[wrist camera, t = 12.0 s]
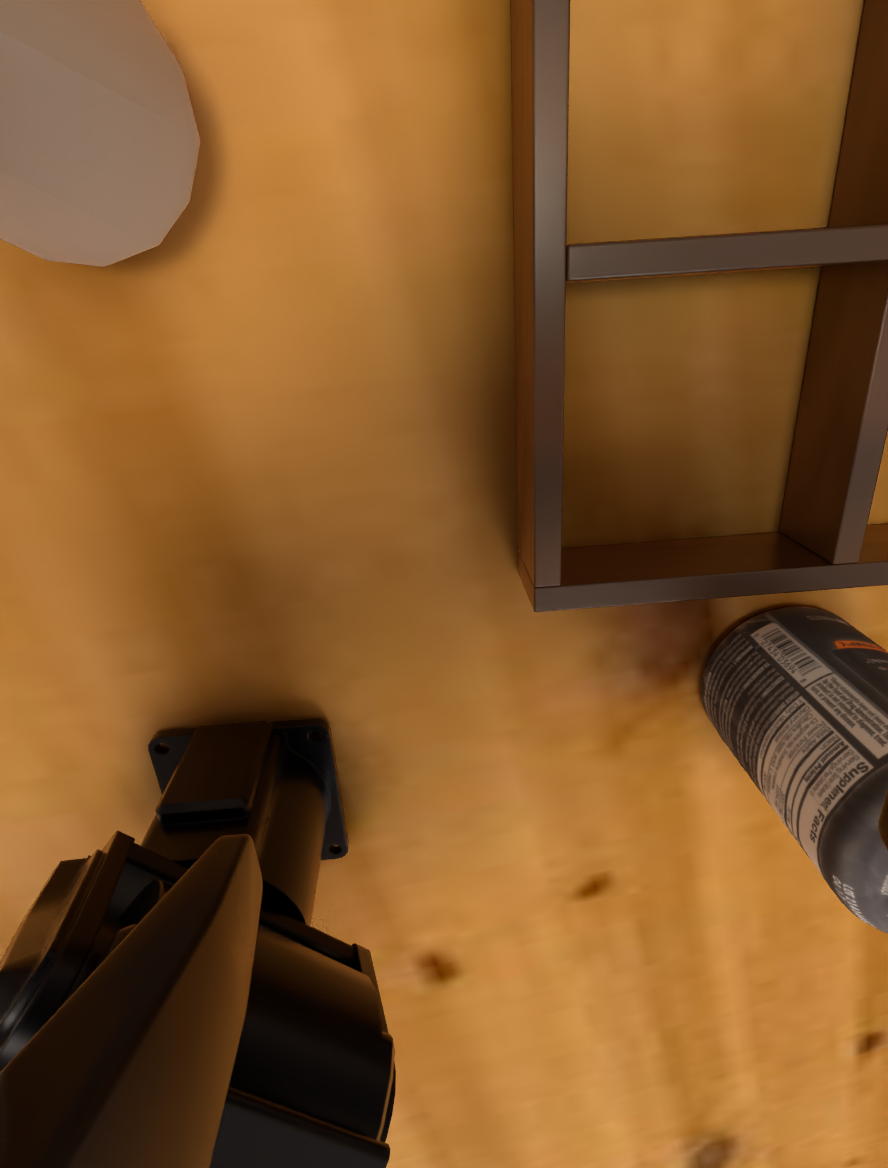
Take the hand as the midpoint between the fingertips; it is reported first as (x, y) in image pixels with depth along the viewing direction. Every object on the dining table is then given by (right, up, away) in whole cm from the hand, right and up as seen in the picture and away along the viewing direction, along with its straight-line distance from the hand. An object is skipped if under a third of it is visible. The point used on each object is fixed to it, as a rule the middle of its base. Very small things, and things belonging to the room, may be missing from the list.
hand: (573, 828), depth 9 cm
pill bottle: (+11, 0, +15) cm, 18 cm away
